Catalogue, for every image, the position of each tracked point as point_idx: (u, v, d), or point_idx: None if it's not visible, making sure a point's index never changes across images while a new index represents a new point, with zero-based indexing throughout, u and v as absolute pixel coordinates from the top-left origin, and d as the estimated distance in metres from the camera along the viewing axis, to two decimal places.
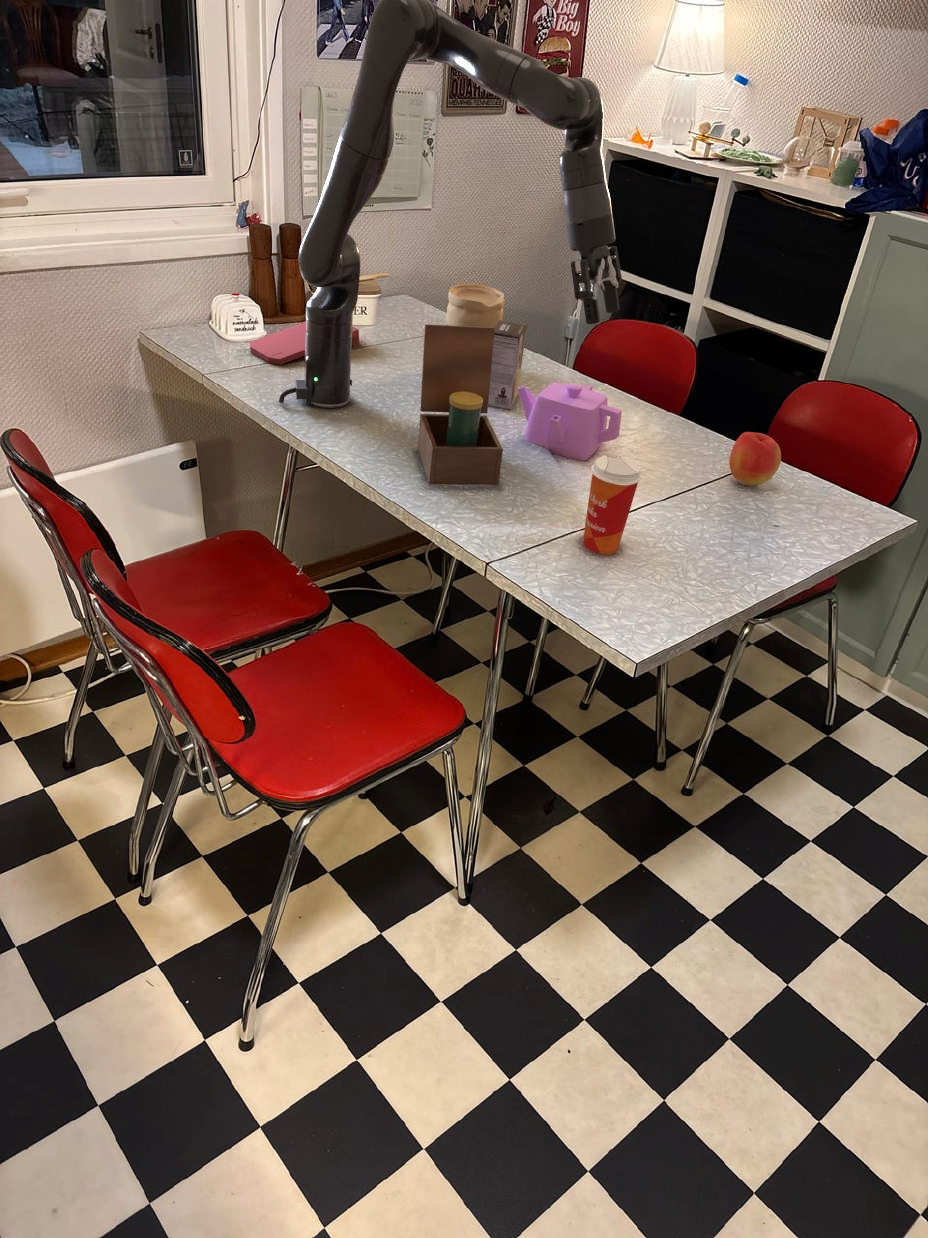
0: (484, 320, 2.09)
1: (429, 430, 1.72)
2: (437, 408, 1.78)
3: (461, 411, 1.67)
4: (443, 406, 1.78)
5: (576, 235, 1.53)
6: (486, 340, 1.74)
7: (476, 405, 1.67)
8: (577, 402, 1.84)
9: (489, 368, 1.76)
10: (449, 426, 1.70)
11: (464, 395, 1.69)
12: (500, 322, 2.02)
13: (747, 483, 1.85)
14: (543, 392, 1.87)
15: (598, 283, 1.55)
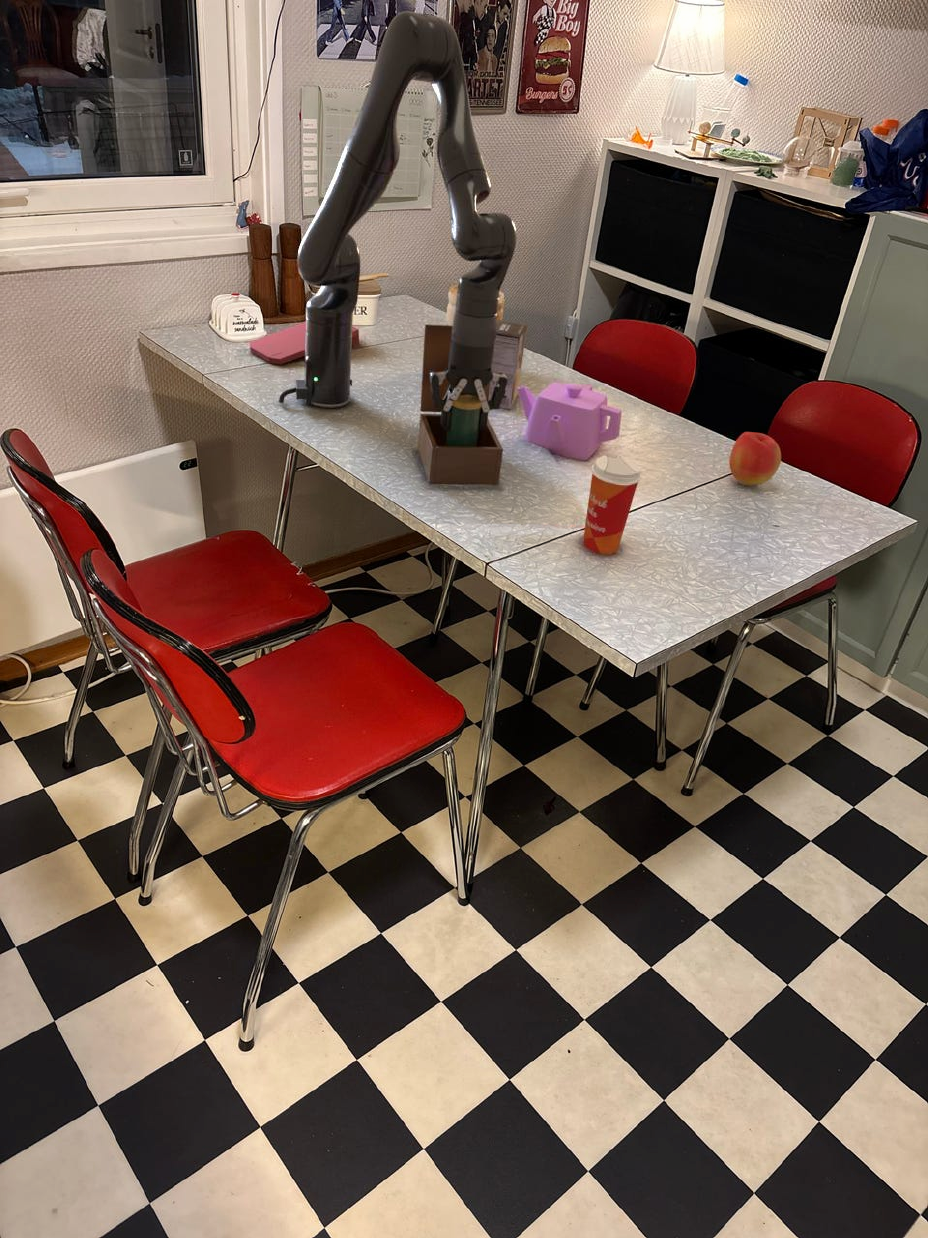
0: None
1: (429, 430, 1.72)
2: (437, 408, 1.78)
3: (462, 411, 1.67)
4: None
5: None
6: None
7: (476, 405, 1.67)
8: (577, 402, 1.84)
9: None
10: (449, 426, 1.70)
11: (464, 395, 1.69)
12: (500, 322, 2.02)
13: (747, 483, 1.85)
14: (543, 392, 1.87)
15: (452, 399, 1.66)
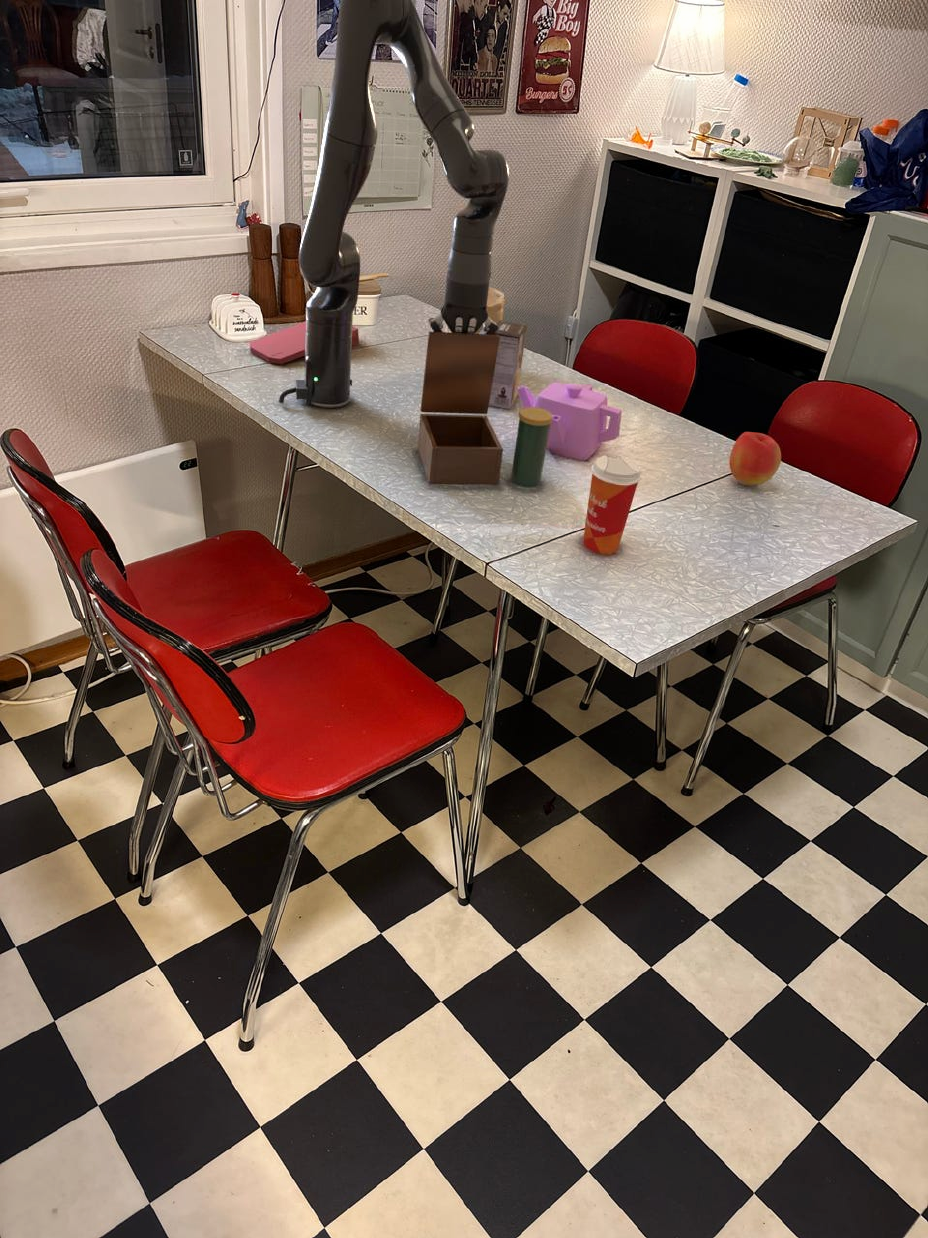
0: None
1: (429, 430, 1.72)
2: (437, 409, 1.78)
3: (532, 427, 1.67)
4: (444, 407, 1.78)
5: None
6: (490, 348, 1.71)
7: (547, 421, 1.67)
8: (577, 402, 1.84)
9: (492, 373, 1.75)
10: (518, 442, 1.70)
11: (533, 411, 1.69)
12: (500, 322, 2.02)
13: (747, 483, 1.85)
14: (543, 392, 1.87)
15: None
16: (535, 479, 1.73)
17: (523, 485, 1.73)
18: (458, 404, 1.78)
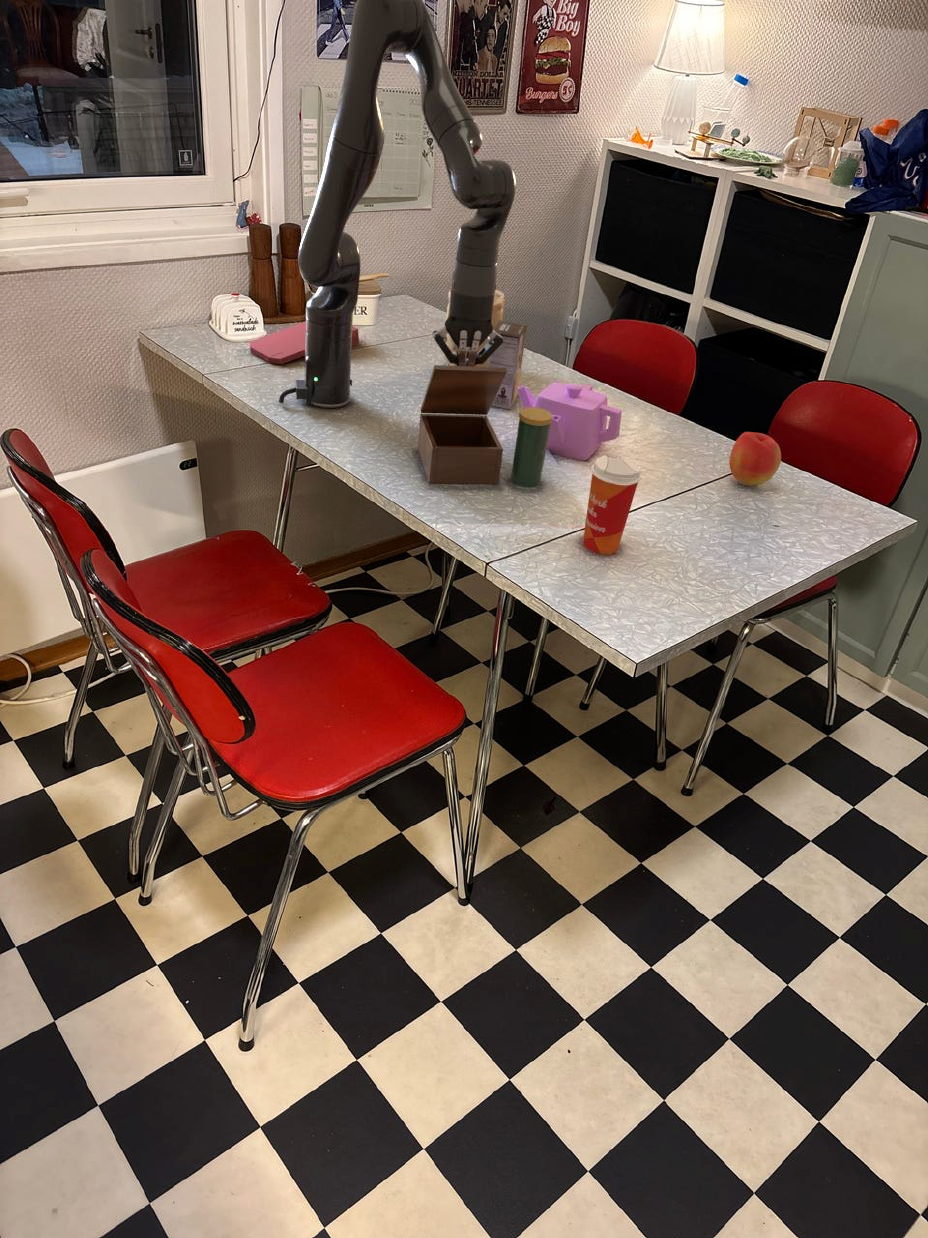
0: None
1: (429, 430, 1.72)
2: (437, 411, 1.78)
3: (532, 427, 1.67)
4: (444, 411, 1.78)
5: None
6: (496, 378, 1.67)
7: (547, 421, 1.67)
8: (577, 402, 1.84)
9: (495, 392, 1.72)
10: (518, 442, 1.70)
11: (533, 411, 1.69)
12: (500, 322, 2.02)
13: (747, 483, 1.85)
14: (543, 392, 1.87)
15: (462, 353, 1.67)
16: (535, 479, 1.73)
17: (523, 485, 1.73)
18: (458, 409, 1.77)
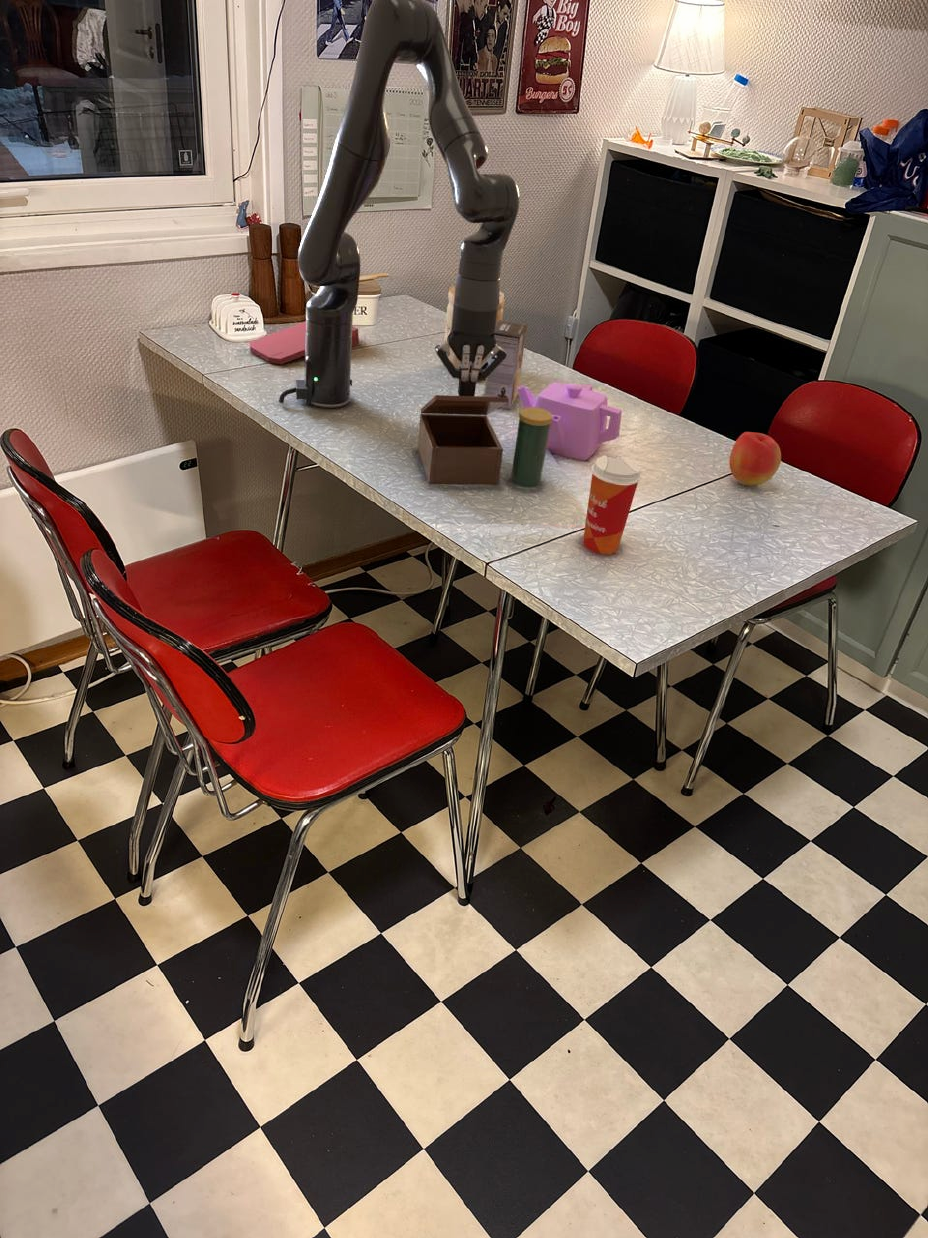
0: None
1: (429, 430, 1.72)
2: (437, 413, 1.78)
3: (532, 427, 1.67)
4: (444, 413, 1.78)
5: None
6: (497, 404, 1.67)
7: (547, 421, 1.67)
8: (577, 402, 1.84)
9: (496, 408, 1.72)
10: (518, 442, 1.70)
11: (533, 411, 1.69)
12: (500, 322, 2.02)
13: (747, 483, 1.85)
14: (543, 392, 1.87)
15: (465, 368, 1.65)
16: (535, 479, 1.73)
17: (523, 485, 1.73)
18: (458, 413, 1.77)
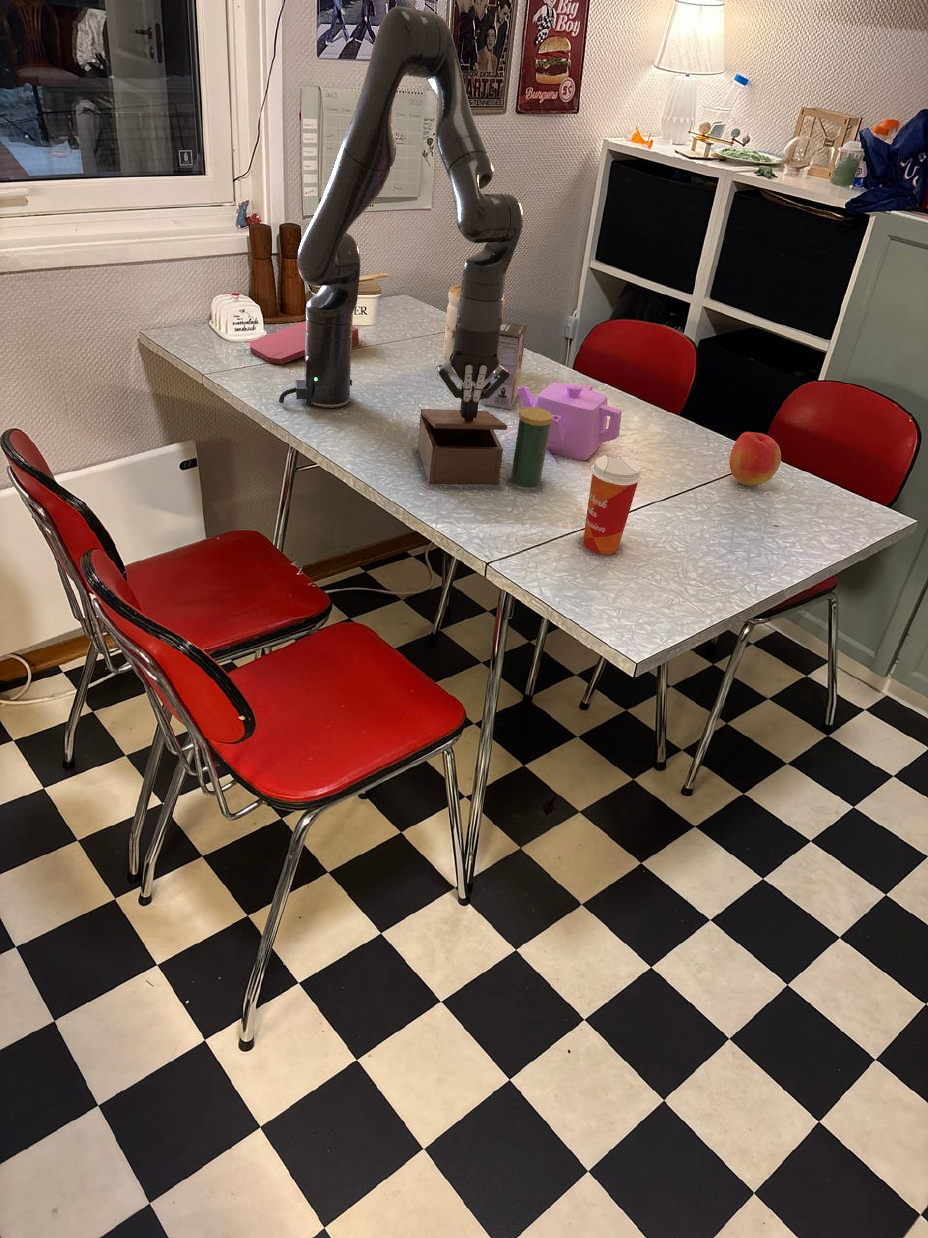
0: None
1: (429, 430, 1.72)
2: None
3: (532, 427, 1.67)
4: None
5: None
6: None
7: (547, 421, 1.67)
8: (577, 402, 1.84)
9: None
10: (518, 442, 1.70)
11: (533, 411, 1.69)
12: None
13: (747, 483, 1.85)
14: (543, 392, 1.87)
15: (468, 388, 1.63)
16: (535, 479, 1.73)
17: (523, 485, 1.73)
18: None
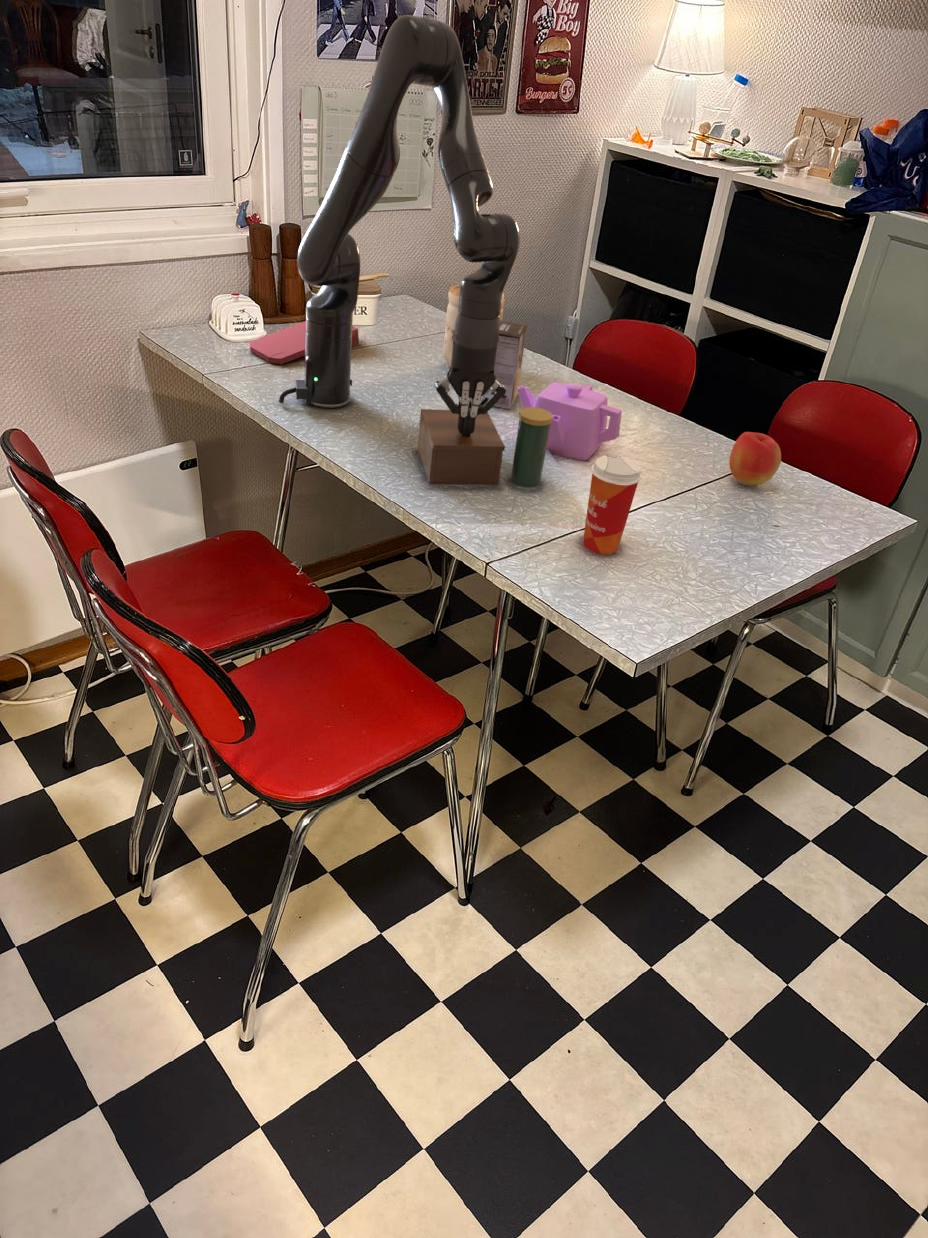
0: None
1: None
2: None
3: (532, 427, 1.67)
4: None
5: (452, 350, 1.62)
6: None
7: (547, 421, 1.67)
8: (577, 402, 1.84)
9: None
10: (518, 442, 1.70)
11: (533, 411, 1.69)
12: (500, 322, 2.02)
13: (747, 483, 1.85)
14: (543, 392, 1.87)
15: (465, 404, 1.65)
16: (535, 479, 1.73)
17: (523, 485, 1.73)
18: None
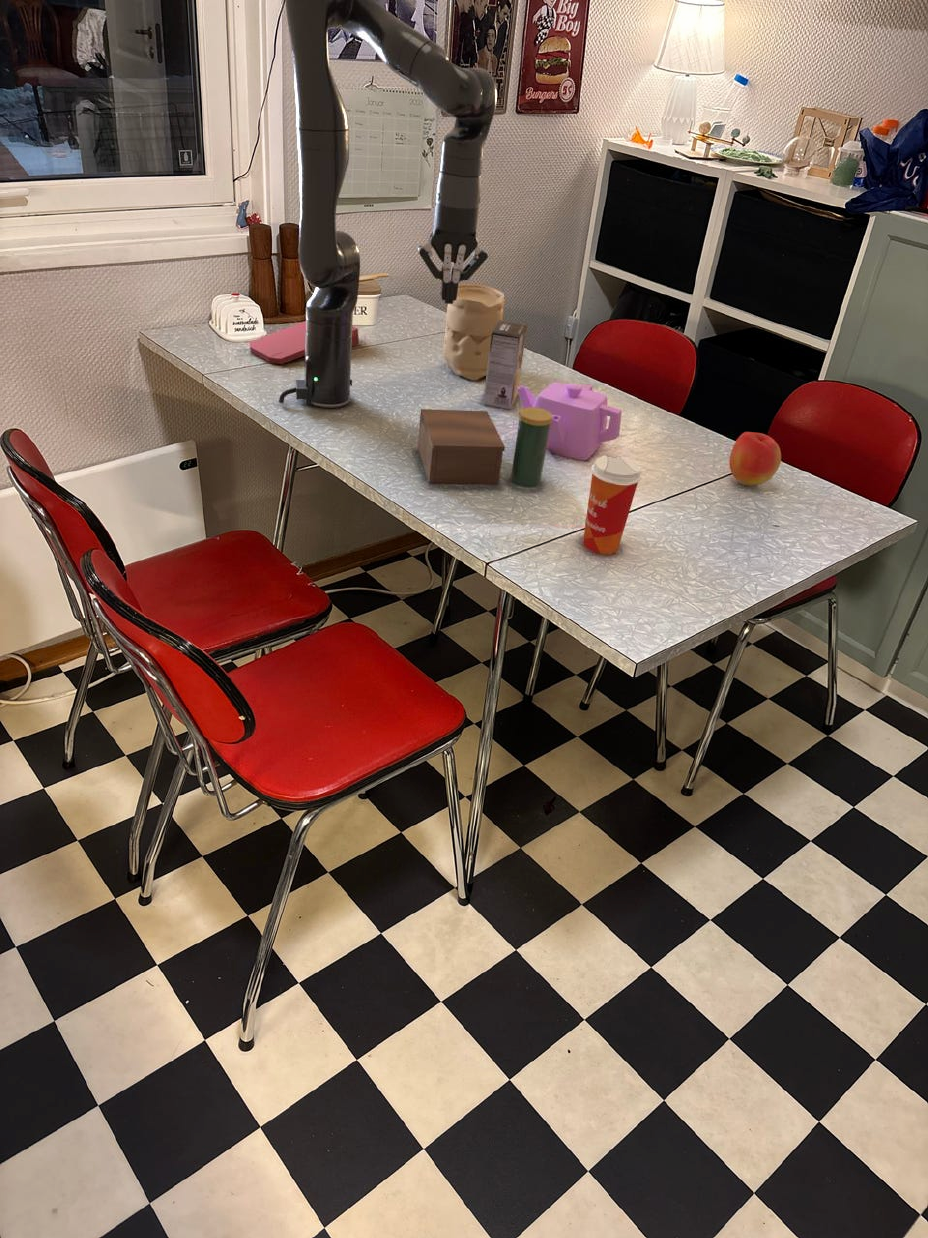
0: (484, 320, 2.09)
1: None
2: None
3: (532, 427, 1.67)
4: None
5: None
6: None
7: (547, 421, 1.67)
8: (577, 402, 1.84)
9: None
10: (518, 442, 1.70)
11: (533, 411, 1.69)
12: (500, 322, 2.02)
13: (747, 483, 1.85)
14: (543, 392, 1.87)
15: (447, 268, 1.68)
16: (535, 479, 1.73)
17: (523, 485, 1.73)
18: None
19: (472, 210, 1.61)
